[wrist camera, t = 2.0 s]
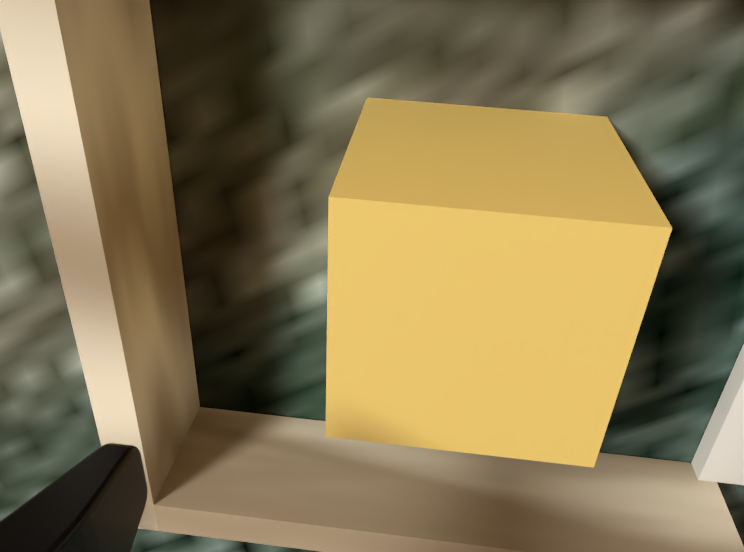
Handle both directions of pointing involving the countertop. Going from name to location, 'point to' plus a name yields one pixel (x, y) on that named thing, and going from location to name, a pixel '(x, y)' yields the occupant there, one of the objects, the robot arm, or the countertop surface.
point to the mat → (725, 434)
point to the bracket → (252, 430)
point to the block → (485, 279)
